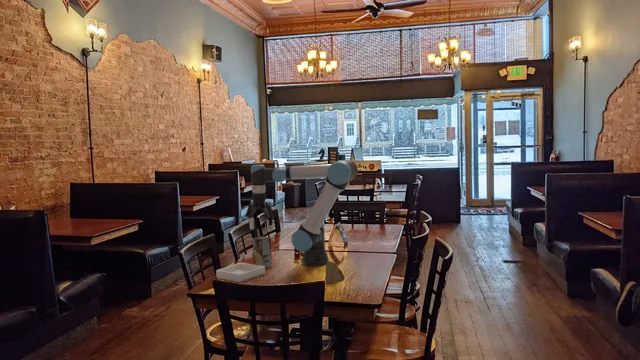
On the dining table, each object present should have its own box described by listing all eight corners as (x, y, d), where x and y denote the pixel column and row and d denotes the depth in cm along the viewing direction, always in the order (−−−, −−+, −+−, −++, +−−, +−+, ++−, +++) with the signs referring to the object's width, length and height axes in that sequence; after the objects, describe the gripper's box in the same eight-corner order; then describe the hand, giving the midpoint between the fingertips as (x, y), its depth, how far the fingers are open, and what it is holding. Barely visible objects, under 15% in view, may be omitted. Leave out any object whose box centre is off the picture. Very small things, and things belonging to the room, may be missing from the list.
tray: (265, 273, 252) (264, 266, 252) (240, 282, 238) (240, 275, 237) (241, 269, 263) (241, 262, 262) (216, 277, 248) (216, 270, 248)
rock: (344, 272, 240) (324, 270, 240) (346, 261, 235) (326, 259, 235) (344, 290, 232) (323, 288, 232) (345, 279, 226) (325, 277, 226)
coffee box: (272, 266, 267) (271, 238, 266) (263, 268, 263) (262, 240, 261) (262, 263, 274) (261, 236, 272) (253, 266, 269) (252, 238, 268)
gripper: (238, 192, 269) (240, 229, 271) (270, 194, 254) (272, 233, 256) (247, 191, 275) (249, 227, 277) (280, 192, 260) (281, 230, 262)
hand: (260, 230), depth 266 cm, fingers open, 13 cm apart
